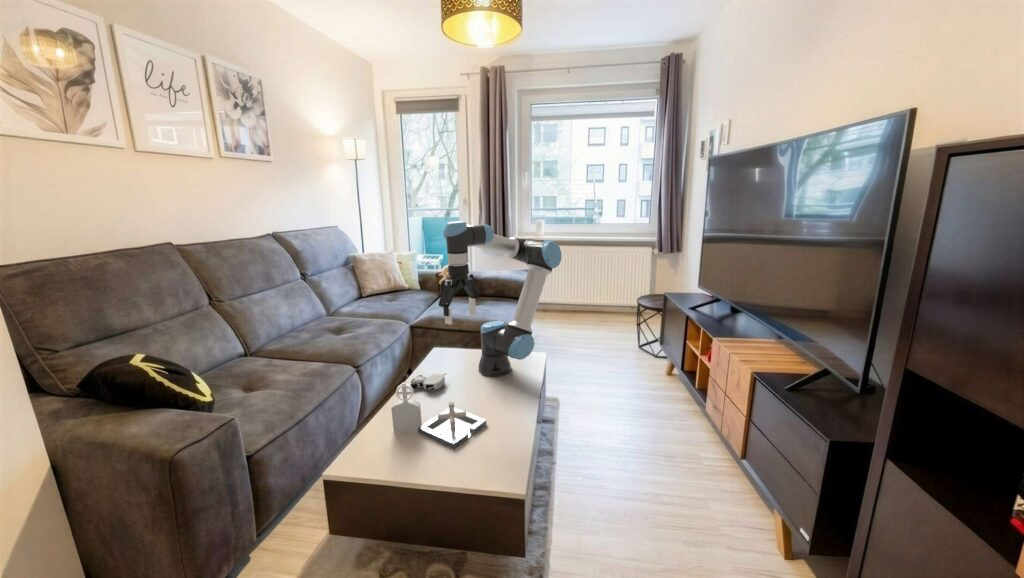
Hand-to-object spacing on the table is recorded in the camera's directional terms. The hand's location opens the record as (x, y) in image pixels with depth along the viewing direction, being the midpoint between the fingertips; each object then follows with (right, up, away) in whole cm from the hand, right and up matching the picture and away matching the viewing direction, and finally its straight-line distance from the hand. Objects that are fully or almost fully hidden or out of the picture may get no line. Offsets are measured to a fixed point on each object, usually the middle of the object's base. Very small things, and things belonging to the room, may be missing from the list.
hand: (461, 319), depth 155 cm
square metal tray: (-2, -38, -10) cm, 40 cm away
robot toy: (-17, -31, +21) cm, 42 cm away
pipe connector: (-2, -38, -10) cm, 39 cm away
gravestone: (-18, -39, -10) cm, 44 cm away
